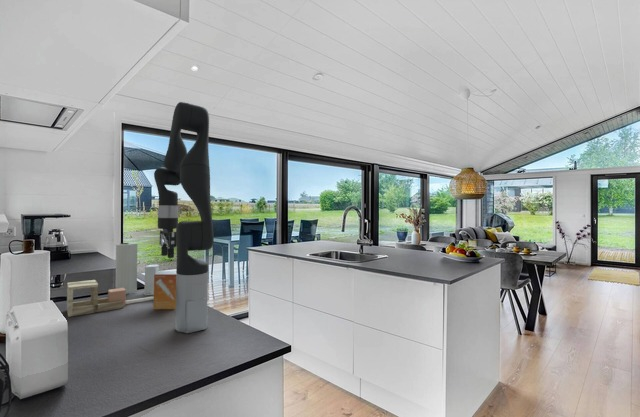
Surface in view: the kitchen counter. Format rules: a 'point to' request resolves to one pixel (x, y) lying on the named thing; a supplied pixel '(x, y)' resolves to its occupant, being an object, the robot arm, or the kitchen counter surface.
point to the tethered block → (123, 296)
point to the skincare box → (150, 279)
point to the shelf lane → (88, 305)
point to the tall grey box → (126, 267)
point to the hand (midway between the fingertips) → (167, 256)
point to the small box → (165, 290)
